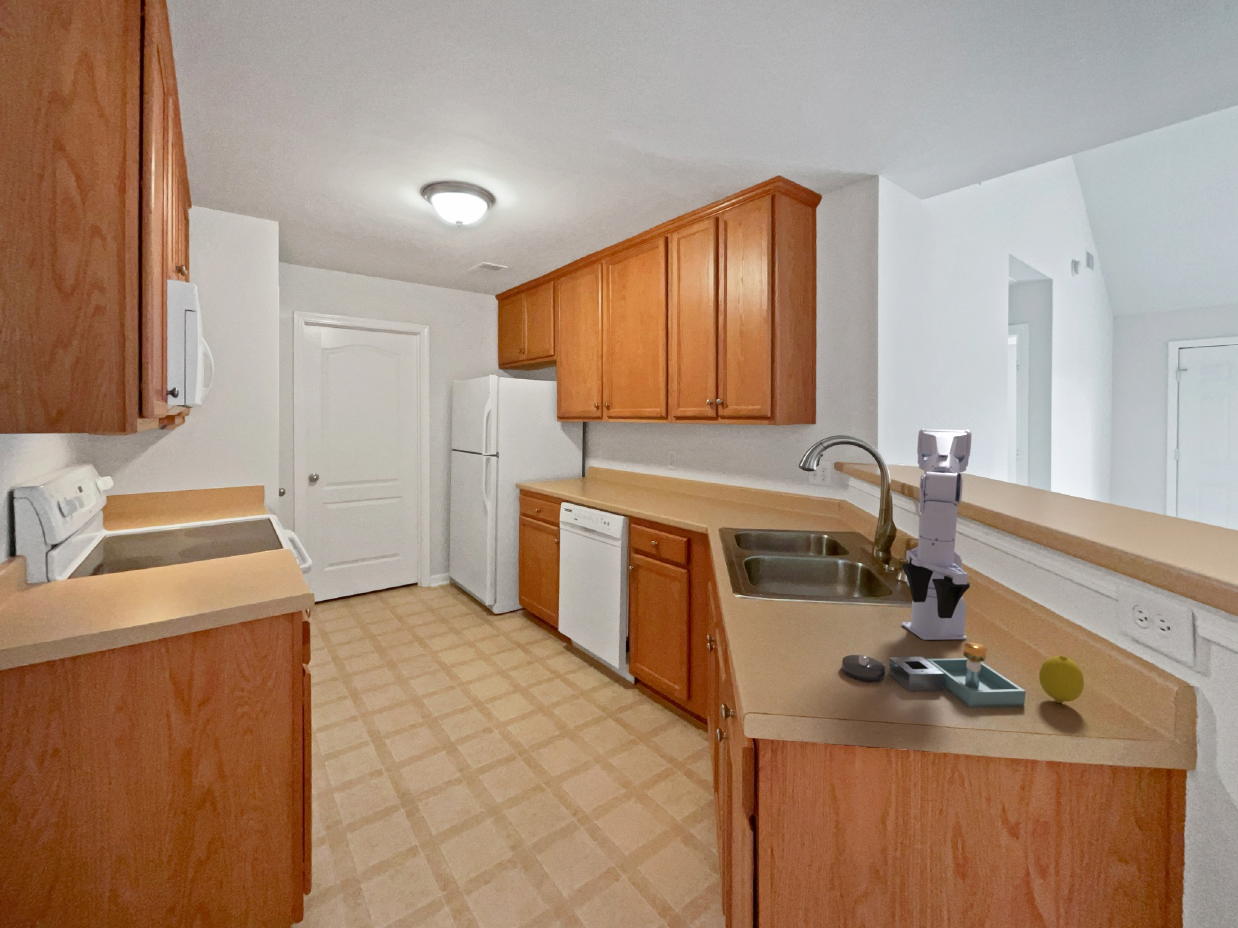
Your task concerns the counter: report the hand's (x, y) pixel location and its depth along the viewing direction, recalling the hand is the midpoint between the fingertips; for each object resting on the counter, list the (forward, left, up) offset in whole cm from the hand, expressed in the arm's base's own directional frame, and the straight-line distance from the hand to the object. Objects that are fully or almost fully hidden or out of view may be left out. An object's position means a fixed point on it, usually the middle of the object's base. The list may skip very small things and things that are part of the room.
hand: (931, 609), depth 99 cm
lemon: (-13, +14, -11) cm, 22 cm away
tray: (-2, +9, -10) cm, 14 cm away
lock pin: (-2, +9, -10) cm, 14 cm away
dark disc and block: (+11, +4, -10) cm, 15 cm away
